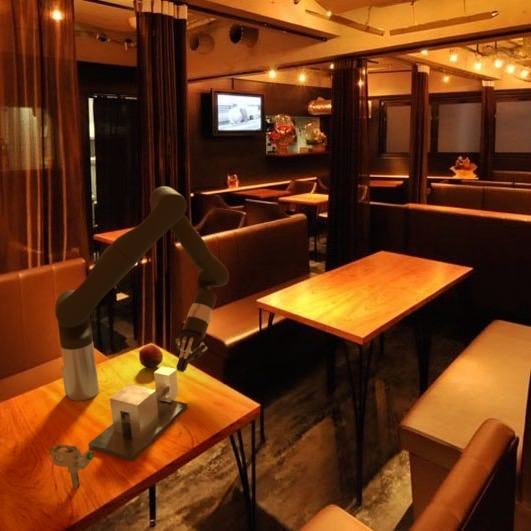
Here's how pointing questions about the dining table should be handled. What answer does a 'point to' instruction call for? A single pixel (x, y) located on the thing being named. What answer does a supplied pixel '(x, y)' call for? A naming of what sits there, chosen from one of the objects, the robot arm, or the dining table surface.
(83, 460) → the mechanical component
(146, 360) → the fruit
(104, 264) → the robot arm
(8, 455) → the dining table surface
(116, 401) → the shaft housing
